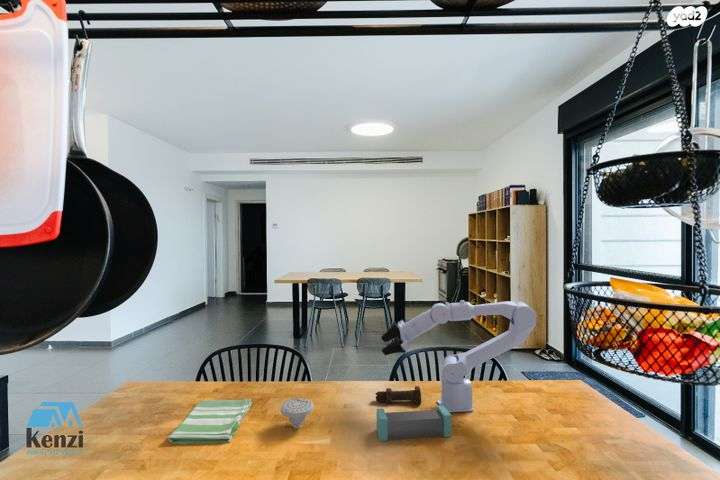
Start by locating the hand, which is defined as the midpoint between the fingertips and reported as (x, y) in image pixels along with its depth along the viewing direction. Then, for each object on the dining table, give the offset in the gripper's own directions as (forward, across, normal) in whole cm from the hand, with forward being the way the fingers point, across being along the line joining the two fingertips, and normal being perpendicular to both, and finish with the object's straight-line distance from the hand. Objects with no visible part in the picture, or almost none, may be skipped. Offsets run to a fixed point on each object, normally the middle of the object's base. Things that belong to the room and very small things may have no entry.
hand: (383, 346), depth 122 cm
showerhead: (+28, +24, -5) cm, 37 cm away
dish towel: (+50, +22, -18) cm, 57 cm away
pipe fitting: (0, +26, +14) cm, 29 cm away
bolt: (+6, +7, +17) cm, 19 cm away
